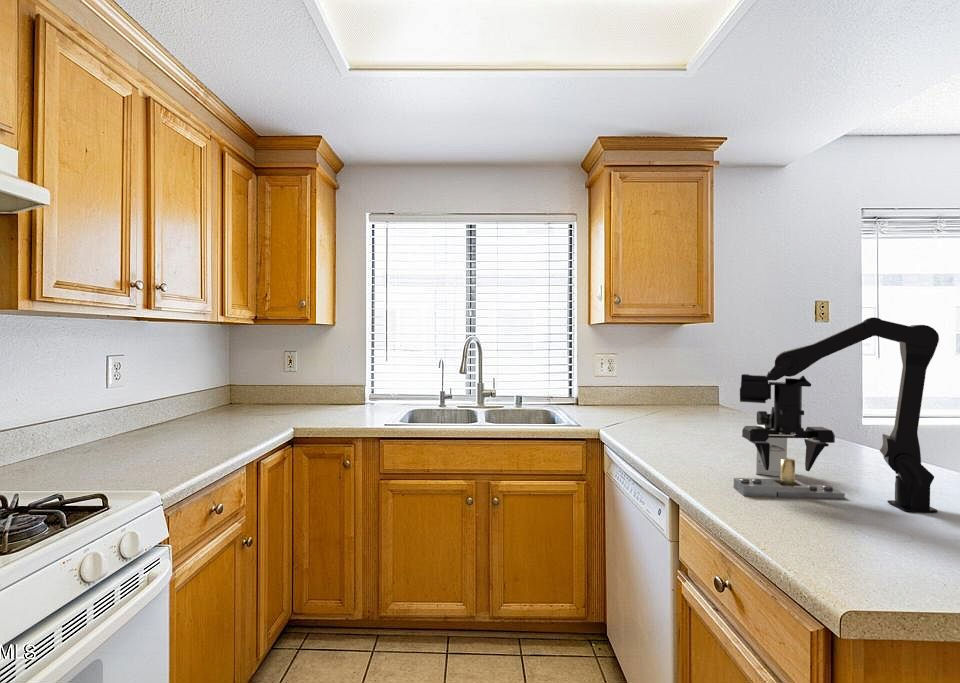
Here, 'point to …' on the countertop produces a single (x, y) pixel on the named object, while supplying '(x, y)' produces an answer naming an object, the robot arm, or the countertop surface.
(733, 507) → the countertop surface
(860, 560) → the countertop surface
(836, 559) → the countertop surface
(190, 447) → the countertop surface
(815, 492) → the lower chain end
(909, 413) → the robot arm
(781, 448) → the supplement box
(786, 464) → the brass pin
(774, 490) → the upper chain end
